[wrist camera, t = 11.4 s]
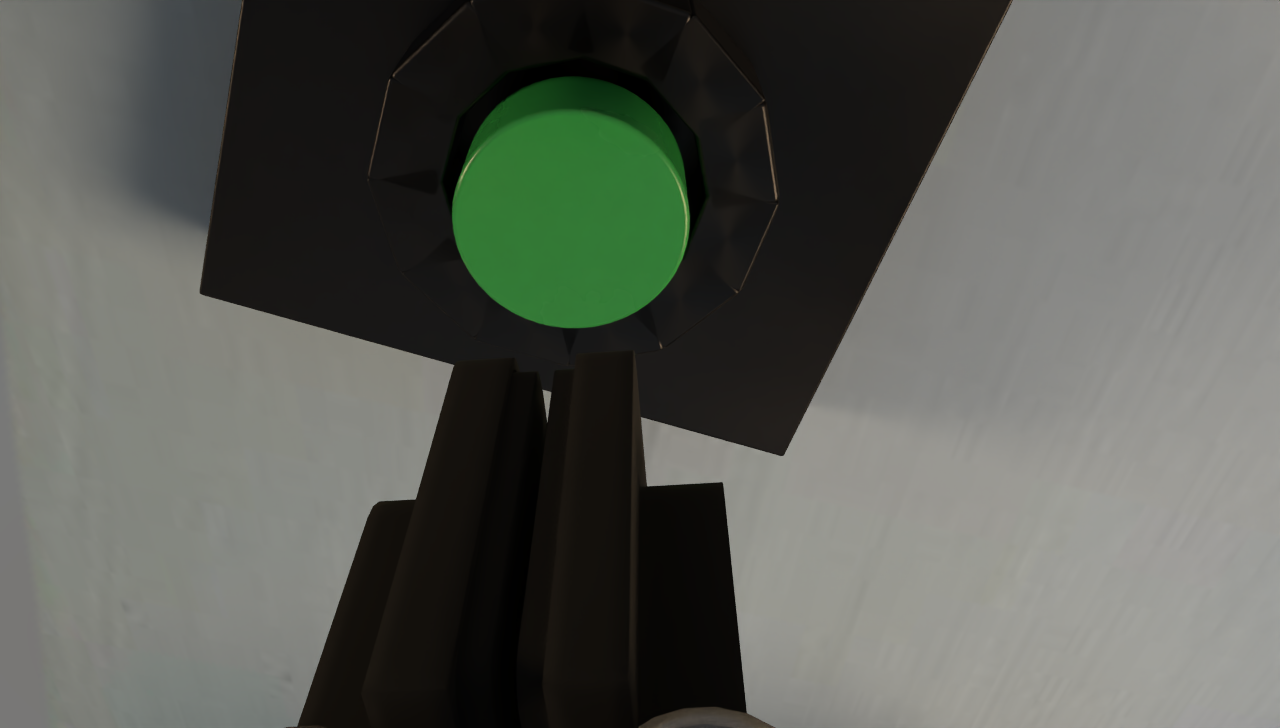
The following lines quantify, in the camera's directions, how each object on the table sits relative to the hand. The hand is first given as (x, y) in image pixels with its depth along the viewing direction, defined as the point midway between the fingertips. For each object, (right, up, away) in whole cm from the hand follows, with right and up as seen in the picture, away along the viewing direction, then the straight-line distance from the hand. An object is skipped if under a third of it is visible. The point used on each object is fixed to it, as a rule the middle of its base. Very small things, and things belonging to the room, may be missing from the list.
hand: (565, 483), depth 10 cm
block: (0, +6, +10) cm, 12 cm away
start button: (0, +4, +7) cm, 8 cm away
